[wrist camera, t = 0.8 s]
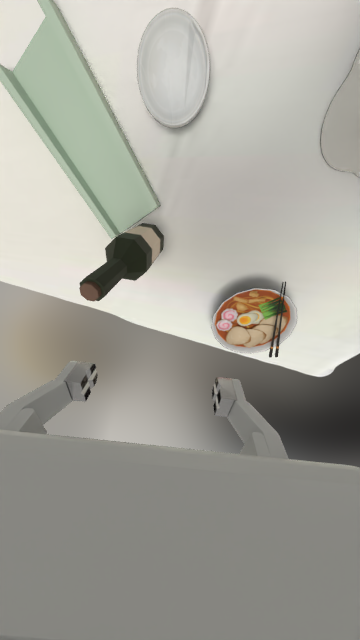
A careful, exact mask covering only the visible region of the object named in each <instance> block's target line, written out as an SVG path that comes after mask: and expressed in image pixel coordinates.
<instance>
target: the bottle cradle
mask: <svg viewBox="0 0 360 640" xmlns="http://www.w3.org/2000/svg"><path fill="white" fill-rule="evenodd" d="M37 1H38V3H39V5H40V6H41V8H42V10H43V12H44V14H45V16H46V17H45V19H44V21H43V22H42V24H41V25H40V27H39V29H38V30H37V32H36V34H35V35H34V37H33V39H32V40H31V42H30V44H29V45H28V47H27V49H26V50H25V52H24V54H23V55H22V57H21V59H20V60H19V62H18V64H17V65H16V67H15V69H14V70H13V72H12V71H10V70H8V69H7V68H5V67H4V66H2V65H0V81H1V83H2V84H3V85H4V87H5V88H6V90H7V91H8V92H9V94H10V95H11V97H12V98H13V100H14V101H15V102H16V104H17V105H18V107H19V108H20V110H21V111H22V112H23V114H24V115H25V117H26V118H27V120H28V121H29V122H30V124H31V125H32V127H33V128H34V129H35V131H36V132H37V134H38V135H39V137H40V138H41V139H42V141H43V142H44V144H45V145H46V147H47V148H48V149H49V151H50V152H51V154H52V155H53V157H54V158H55V159H56V161H57V162H58V164H59V165H60V166H61V168H62V169H63V171H64V172H65V174H66V175H67V176H68V178H69V179H70V181H71V182H72V184H73V185H74V186H75V188H76V189H77V191H78V192H79V194H80V195H81V196H82V198H83V199H84V201H85V202H86V203H87V205H88V206H89V208H90V209H91V211H92V212H93V213H94V215H95V216H96V218H97V219H98V221H99V222H100V223H101V225H102V226H103V228H104V229H105V231H106V232H107V233H108V235H109V236H110V238H111V239H112V238H114V237H116V236H118V235H119V234H121V233H122V232H123V231H125V230H126V229H128V228H129V227H131V226H132V225H133V224H135V223H136V222H138V221H139V220H141V219H142V218H143V217H145V216H146V215H148V214H149V213H151V212H152V211H153V210H155V209H156V208H158V207H159V206H161V205H160V203H159V201H158V200H157V198H156V196H155V194H154V192H153V190H152V188H151V186H150V184H149V182H148V180H147V178H146V176H145V174H144V173H143V171H142V169H141V167H140V165H139V163H138V161H137V159H136V157H135V155H134V153H133V151H132V149H131V147H130V145H129V144H128V142H127V140H126V138H125V136H124V134H123V132H122V130H121V128H120V126H119V124H118V122H117V120H116V118H115V116H114V115H113V113H112V111H111V109H110V107H109V105H108V103H107V101H106V99H105V97H104V95H103V93H102V91H101V89H100V88H99V86H98V84H97V82H96V80H95V78H94V76H93V74H92V72H91V70H90V68H89V66H88V64H87V62H86V60H85V59H84V57H83V55H82V53H81V51H80V49H79V47H78V45H77V43H76V41H75V39H74V37H73V35H72V33H71V31H70V30H69V28H68V26H67V24H66V22H65V20H64V18H63V16H62V14H61V12H60V10H59V8H58V6H57V5H56V4H55V2H54V1H53V0H37Z"/></svg>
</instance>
